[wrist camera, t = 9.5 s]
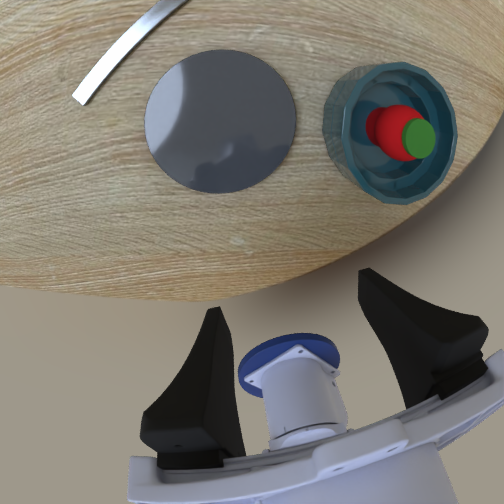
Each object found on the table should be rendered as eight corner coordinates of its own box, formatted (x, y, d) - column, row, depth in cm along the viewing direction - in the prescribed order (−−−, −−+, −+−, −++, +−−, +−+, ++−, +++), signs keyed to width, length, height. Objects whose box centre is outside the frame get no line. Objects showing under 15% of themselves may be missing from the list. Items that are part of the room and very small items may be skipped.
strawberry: (410, 133, 19) (450, 147, 14) (377, 162, 20) (413, 181, 16) (386, 92, 17) (426, 96, 13) (350, 121, 18) (385, 130, 14)
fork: (87, 107, 16) (84, 107, 15) (72, 94, 15) (69, 94, 14) (274, -50, 11) (275, -53, 10) (257, -62, 10) (258, -65, 9)
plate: (320, 126, 19) (324, 128, 18) (218, 215, 21) (218, 221, 20) (224, 25, 14) (224, 21, 13) (120, 126, 17) (115, 128, 16)
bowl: (441, 142, 20) (471, 153, 16) (365, 209, 22) (389, 230, 19) (385, 44, 15) (416, 39, 12) (292, 114, 18) (309, 118, 14)
